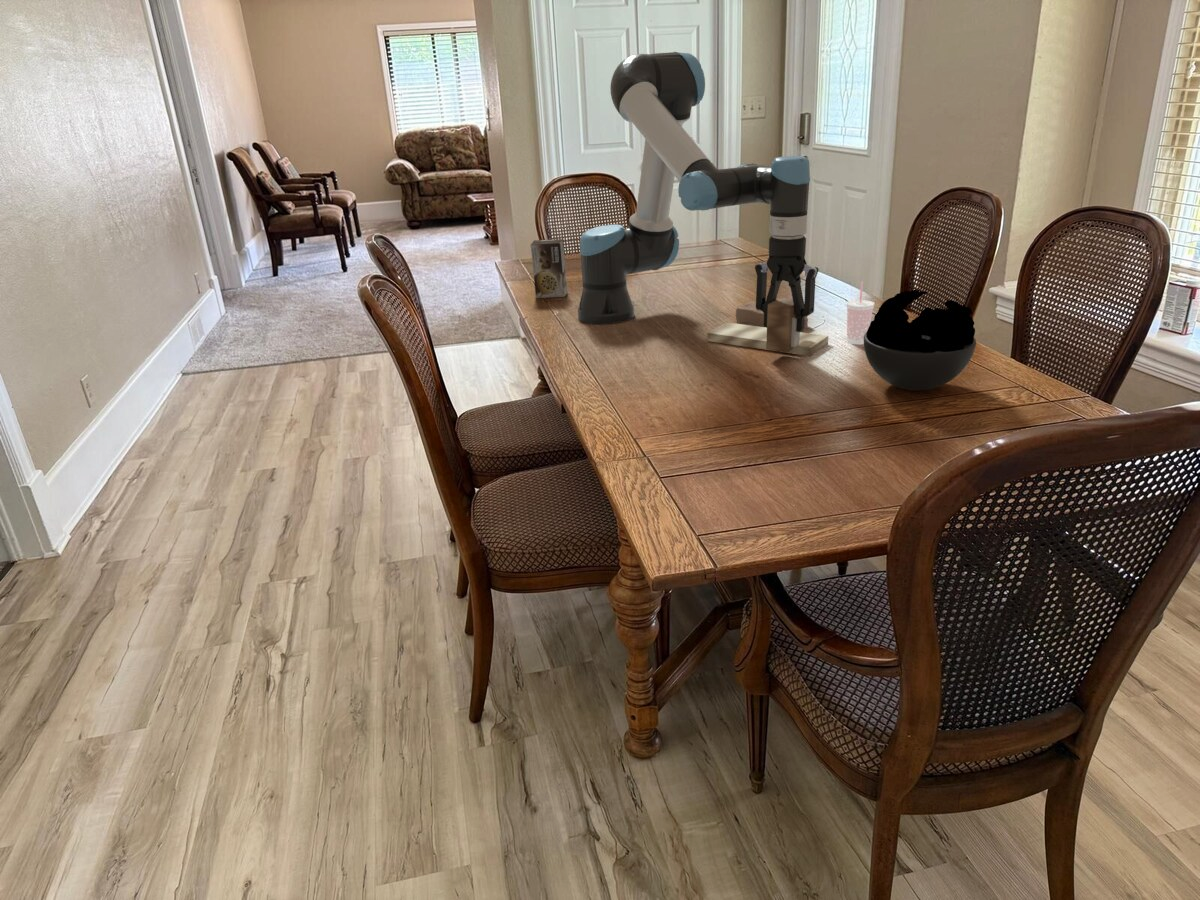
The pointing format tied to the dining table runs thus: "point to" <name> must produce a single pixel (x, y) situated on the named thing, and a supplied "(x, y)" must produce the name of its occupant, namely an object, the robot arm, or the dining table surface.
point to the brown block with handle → (780, 325)
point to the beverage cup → (858, 318)
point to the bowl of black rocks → (919, 343)
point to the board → (763, 338)
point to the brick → (752, 315)
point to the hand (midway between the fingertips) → (782, 343)
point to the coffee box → (549, 268)
